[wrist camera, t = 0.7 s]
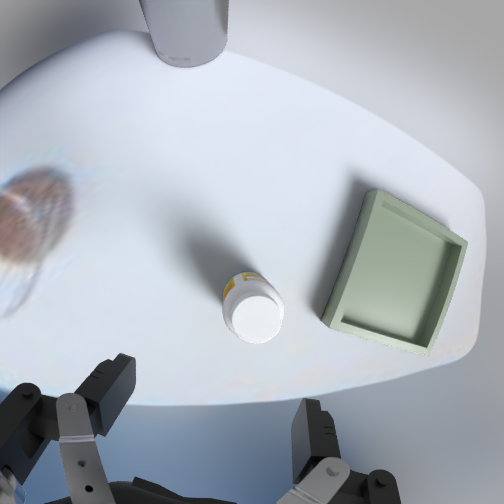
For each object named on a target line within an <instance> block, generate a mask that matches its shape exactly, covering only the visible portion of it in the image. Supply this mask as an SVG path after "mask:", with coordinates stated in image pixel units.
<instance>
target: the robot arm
mask: <svg viewBox="0 0 504 504" xmlns="http://www.w3.org/2000/svg"><path fill="white" fill-rule="evenodd" d="M139 2H140V5H141V8H142V11H143V14H144V17H145V20H146V23H147V26H148V29H149V32H150V35H151V38H152V41H153V44H154V47H155V50H156V52H157V54H158V56H159V58H160V59H161V60H162V61H164V62H165V63H167V64H169V65H172V66H176V67H195V66H199V65H202V64H206V63H207V62H209V61H211V60H213V59H214V58H216V57H217V56H218V55H219V54H220V53H221V52H222V51H223V49H224V48H225V46H226V42H227V26H228V7H229V0H139ZM135 384H136V360H135V358H134V357H131V356H128V355H125V354H122V353H120V354H118V356H117V357H116V358H115V359H114V360H113V361H112V360H109V359H107V360H105V361H103V362H101V363H100V364H99V365H98V366H97V367H96V368H95V369H94V371H92V373H91V374H90V376H88V377H87V378H86V379H85V381H84V382H83V383H82V384H81V385H80V386H79V388H78V389H77V390H76V391H75V392H74V393H66V394H63V395H61V396H60V397H59V398H54V397H50V396H46V395H42V394H41V391H40V389H39V388H38V387H37V386H36V385H34V384H32V383H22V384H19V385H18V386H17V387H16V388H15V389H14V390H13V391H12V392H11V393H10V394H9V395H8V396H7V397H6V398H5V399H4V401H3V402H2V403H1V404H0V504H24V502H25V499H26V494H25V491H24V489H23V487H22V485H23V483H24V482H25V480H26V478H27V477H28V475H29V474H30V472H31V470H32V469H33V467H34V465H35V464H36V462H37V461H38V459H39V458H40V456H41V455H42V453H43V451H44V450H45V448H46V447H47V445H48V444H49V442H50V441H51V440H55V441H59V446H60V451H61V457H62V462H63V467H64V472H65V476H66V481H67V485H68V489H69V492H70V496H69V497H66V498H63V499H59V500H56V501H52V502H49V503H45V504H237V503H234V502H228V501H222V500H217V499H212V498H188V497H182V496H180V495H178V494H176V493H173V492H172V491H170V490H168V489H166V488H164V487H162V486H160V485H158V484H155V483H152V482H149V481H146V480H143V479H141V478H138V477H135V478H134V480H133V482H129V481H116V482H110V483H108V481H107V478H106V475H105V472H104V469H103V466H102V464H101V460H100V456H99V453H98V450H97V446H96V442H95V437H96V436H97V434H100V435H102V436H104V437H105V436H106V435H107V433H108V432H109V430H110V428H111V427H112V425H113V423H114V422H115V420H116V419H117V417H118V415H119V414H120V412H121V410H122V409H123V407H124V406H125V404H126V403H127V401H128V399H129V398H130V396H131V395H132V393H133V391H134V388H135ZM291 436H292V464H293V465H292V467H293V468H292V469H293V484H298V485H297V486H296V487H295V488H292V489H291V490H290V491H289V492H288V493H286V494H285V495H284V496H283V497H282V498H281V499H280V500H279V501H278V502H277V503H275V504H401V500H400V496H399V492H398V488H397V483H396V479H395V477H394V476H393V475H392V474H391V473H390V472H388V471H385V470H374V471H372V472H371V473H370V474H369V475H367V474H362V473H358V472H355V471H352V470H350V468H349V466H348V465H347V463H346V462H345V461H343V460H341V456H340V451H339V445H338V440H337V435H336V430H335V425H334V421H333V418H332V417H331V415H330V414H329V413H328V412H327V411H321V406H320V401H319V400H315V399H307V398H303V399H302V401H301V403H300V406H299V408H298V411H297V413H296V415H295V417H294V419H293V423H292V428H291Z"/></svg>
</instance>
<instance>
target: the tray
mask: <svg viewBox="0 0 504 504" xmlns="http://www.w3.org/2000/svg"><path fill="white" fill-rule="evenodd" d="M467 244H468V242H467V241H466V240H464V239H463V238H461V237H460V236H458V235H457V234H455V233H454V232H452V231H450V230H449V229H447V228H446V227H444V226H443V225H441V224H439V223H438V222H436V221H434V220H433V219H431V218H430V217H428V216H426V215H425V214H423V213H421V212H419V211H418V210H416V209H414V208H413V207H411V206H409V205H407V204H406V203H404V202H402V201H400V200H398V199H397V198H395V197H393V196H391V195H389V194H387V193H385V192H384V191H382V190H380V189H376V190H372V191H369V192H366V195H365V199H364V202H363V205H362V208H361V211H360V215H359V218H358V221H357V224H356V227H355V230H354V233H353V236H352V239H351V242H350V244H349V247H348V250H347V253H346V256H345V259H344V261H343V264H342V267H341V270H340V272H339V275H338V278H337V280H336V283H335V285H334V288H333V291H332V293H331V296H330V298H329V301H328V303H327V306H326V308H325V311H324V313H323V316H322V318H321V321H322V322H323V323H324V324H325V325H326V326H327V327H328V328H331V329H334V330H337V331H340V332H344V333H347V334H350V335H354V336H357V337H360V338H364V339H367V340H371V341H374V342H378V343H381V344H385V345H388V346H392V347H395V348H399V349H403V350H406V351H410V352H414V353H418V354H421V355H425V356H429V355H430V352H431V350H432V348H433V346H434V343H435V341H436V339H437V336H438V334H439V331H440V329H441V326H442V324H443V321H444V318H445V316H446V313H447V310H448V308H449V305H450V302H451V299H452V296H453V293H454V290H455V287H456V284H457V280H458V277H459V274H460V270H461V267H462V263H463V260H464V256H465V252H466V248H467Z"/></svg>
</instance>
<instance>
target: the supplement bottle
mask: <svg viewBox="0 0 504 504" xmlns="http://www.w3.org/2000/svg"><path fill="white" fill-rule="evenodd" d="M222 309H223V317H224V321H225V323H226V325H227V327H228V328H229V329H230V330H231V331H232V332H233V333H234V334H235V335H237V336H238V337H239V338H241V339H242V340H244V341H246V342H249V343H256V344H257V343H263V342H266V341H268V340H270V339H271V338H273V337H274V336H275V335H276V334H277V332H278V331H279V329H280V327H281V323H282V319H283V315H284V305H283V301H282V298H281V296H280V295H279V293H278V292H277V291H276V289H275V288H274V287H273V286H272V285H271V284H270V283H269V282H268V281H267V280H266V279H265V278H264V277H262V276H261V275H259V274H257V273H253V272H243V273H239V274H237V275H235V276H233V277H232V278H231V279H230V280H229V281H228V282H227V284H226V286H225V288H224V291H223V308H222Z"/></svg>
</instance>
